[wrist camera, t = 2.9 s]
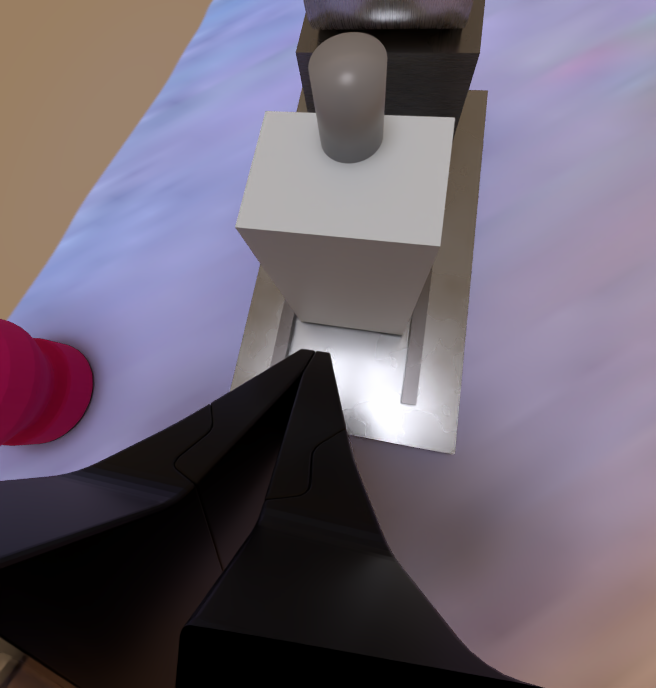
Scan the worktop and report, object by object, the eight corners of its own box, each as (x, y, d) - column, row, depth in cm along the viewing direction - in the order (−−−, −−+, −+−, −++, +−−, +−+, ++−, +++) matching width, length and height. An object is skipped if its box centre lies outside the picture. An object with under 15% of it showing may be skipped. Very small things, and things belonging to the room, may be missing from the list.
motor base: (448, 452, 17) (614, 521, 5) (234, 411, 19) (29, 400, 7) (481, 108, 21) (609, -242, 10) (305, 103, 23) (246, -196, 12)
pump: (402, 335, 17) (462, 193, 6) (300, 321, 18) (198, 175, 7) (412, 264, 18) (479, 30, 7) (313, 253, 19) (241, 32, 8)
